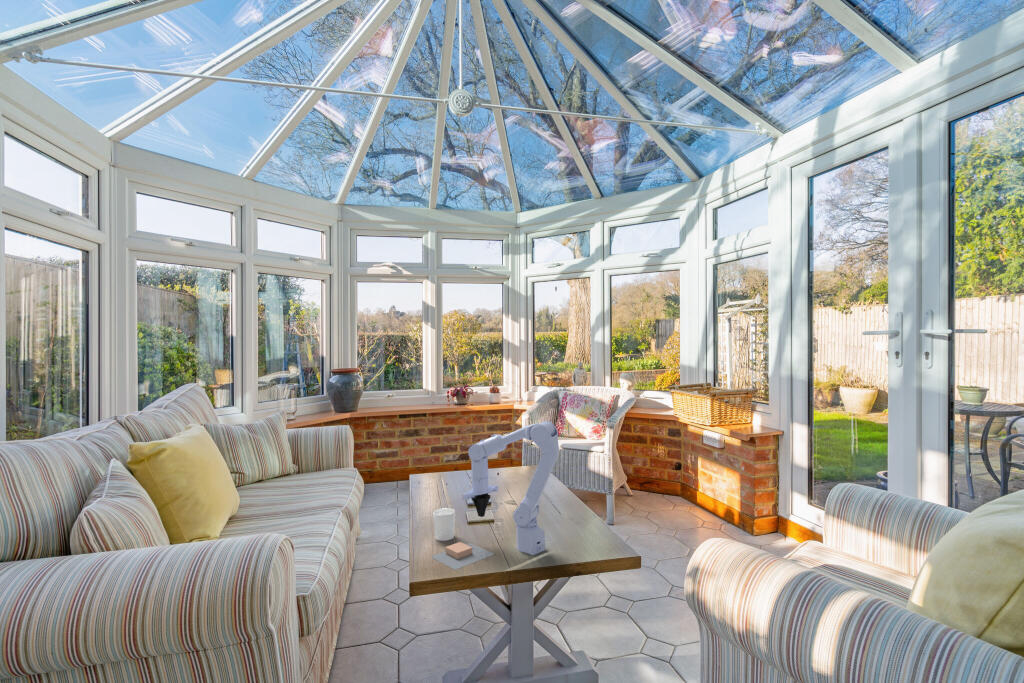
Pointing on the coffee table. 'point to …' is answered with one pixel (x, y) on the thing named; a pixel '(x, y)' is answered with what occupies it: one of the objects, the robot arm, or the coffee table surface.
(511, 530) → the coffee table surface
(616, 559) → the coffee table surface
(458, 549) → the block
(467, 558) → the felt mat
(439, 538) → the white cup
